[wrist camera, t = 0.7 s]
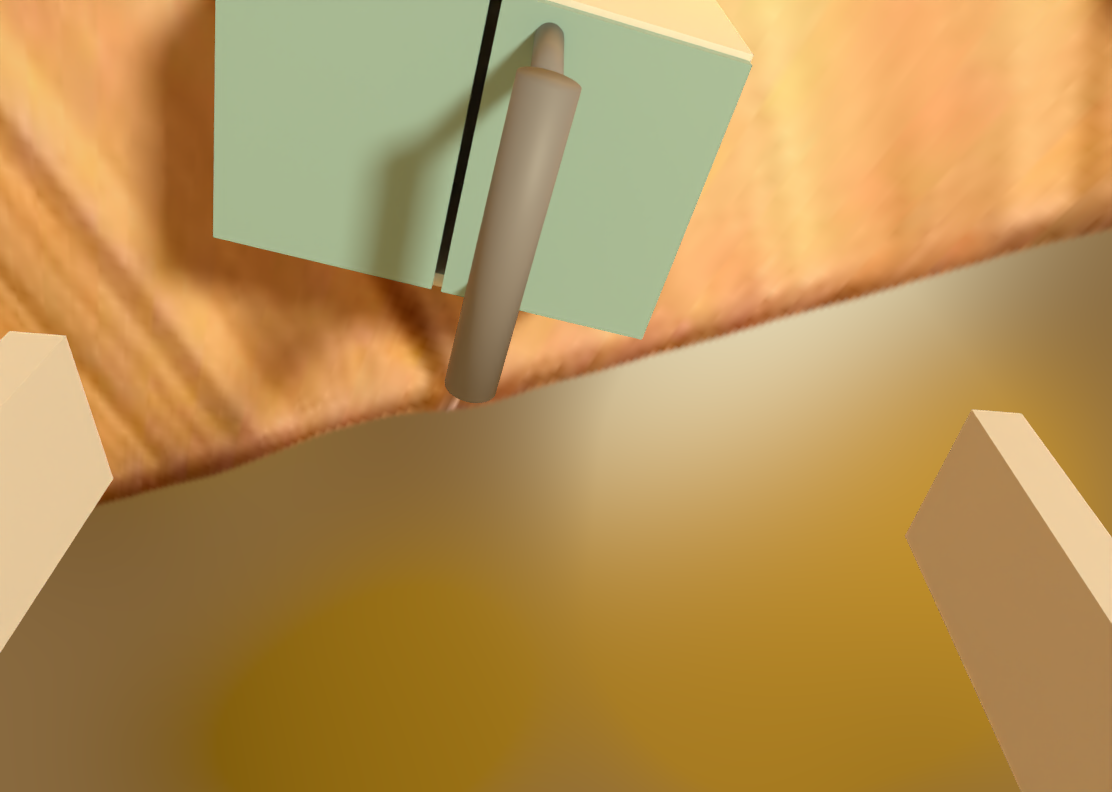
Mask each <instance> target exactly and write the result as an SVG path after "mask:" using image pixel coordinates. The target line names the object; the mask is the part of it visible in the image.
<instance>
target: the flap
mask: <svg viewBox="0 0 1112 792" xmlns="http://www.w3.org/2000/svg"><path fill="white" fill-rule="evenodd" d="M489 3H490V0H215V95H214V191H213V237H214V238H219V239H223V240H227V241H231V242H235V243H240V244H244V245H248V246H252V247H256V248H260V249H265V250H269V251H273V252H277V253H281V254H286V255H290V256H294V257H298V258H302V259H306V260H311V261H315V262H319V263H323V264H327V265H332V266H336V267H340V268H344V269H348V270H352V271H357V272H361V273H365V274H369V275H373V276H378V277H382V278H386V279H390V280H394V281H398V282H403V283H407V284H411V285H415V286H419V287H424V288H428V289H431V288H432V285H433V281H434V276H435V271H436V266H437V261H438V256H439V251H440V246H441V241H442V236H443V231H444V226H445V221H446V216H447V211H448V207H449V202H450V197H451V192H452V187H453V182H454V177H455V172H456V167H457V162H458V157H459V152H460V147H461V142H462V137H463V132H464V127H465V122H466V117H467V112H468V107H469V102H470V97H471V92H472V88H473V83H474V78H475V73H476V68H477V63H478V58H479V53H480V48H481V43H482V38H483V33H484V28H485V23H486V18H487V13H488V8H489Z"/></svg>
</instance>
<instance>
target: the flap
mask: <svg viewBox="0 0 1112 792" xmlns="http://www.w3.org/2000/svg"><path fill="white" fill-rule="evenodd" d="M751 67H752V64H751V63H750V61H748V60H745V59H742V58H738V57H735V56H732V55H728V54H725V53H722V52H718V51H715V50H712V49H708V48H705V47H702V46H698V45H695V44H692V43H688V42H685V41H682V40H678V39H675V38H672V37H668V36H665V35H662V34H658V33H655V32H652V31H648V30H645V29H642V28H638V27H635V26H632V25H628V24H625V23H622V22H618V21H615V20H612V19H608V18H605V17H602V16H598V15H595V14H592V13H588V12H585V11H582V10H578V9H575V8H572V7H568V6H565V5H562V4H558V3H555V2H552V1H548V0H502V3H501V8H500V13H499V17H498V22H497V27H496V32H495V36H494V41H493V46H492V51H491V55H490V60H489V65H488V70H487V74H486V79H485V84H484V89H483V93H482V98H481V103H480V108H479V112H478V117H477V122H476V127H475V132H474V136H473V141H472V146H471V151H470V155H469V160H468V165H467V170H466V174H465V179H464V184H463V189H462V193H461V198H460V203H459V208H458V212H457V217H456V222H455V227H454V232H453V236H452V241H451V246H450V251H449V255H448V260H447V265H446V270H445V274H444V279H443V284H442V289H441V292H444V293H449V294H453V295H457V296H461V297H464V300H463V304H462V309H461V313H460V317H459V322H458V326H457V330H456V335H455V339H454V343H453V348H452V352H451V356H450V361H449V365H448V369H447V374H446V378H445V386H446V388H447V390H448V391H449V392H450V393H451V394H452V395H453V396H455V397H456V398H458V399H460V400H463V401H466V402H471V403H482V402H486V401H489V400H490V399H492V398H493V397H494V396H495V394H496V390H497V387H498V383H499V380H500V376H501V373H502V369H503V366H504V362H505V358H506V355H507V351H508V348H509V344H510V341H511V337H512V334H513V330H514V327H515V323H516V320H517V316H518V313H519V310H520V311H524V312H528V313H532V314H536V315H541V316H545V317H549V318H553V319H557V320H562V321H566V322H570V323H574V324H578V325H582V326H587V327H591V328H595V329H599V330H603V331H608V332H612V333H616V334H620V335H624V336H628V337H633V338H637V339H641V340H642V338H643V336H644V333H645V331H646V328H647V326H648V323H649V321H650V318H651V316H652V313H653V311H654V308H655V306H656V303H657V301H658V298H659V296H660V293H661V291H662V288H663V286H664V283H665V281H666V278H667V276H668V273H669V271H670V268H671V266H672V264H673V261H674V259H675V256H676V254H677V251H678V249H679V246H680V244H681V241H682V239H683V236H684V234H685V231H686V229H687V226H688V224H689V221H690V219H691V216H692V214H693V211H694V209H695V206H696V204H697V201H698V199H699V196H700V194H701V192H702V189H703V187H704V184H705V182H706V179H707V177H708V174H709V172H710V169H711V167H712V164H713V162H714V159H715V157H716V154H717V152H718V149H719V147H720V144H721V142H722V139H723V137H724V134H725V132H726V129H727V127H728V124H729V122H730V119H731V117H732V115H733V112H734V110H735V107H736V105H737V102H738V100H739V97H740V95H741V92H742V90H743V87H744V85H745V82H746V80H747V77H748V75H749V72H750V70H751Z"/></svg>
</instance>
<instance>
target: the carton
mask: <svg viewBox="0 0 1112 792" xmlns="http://www.w3.org/2000/svg"><path fill="white" fill-rule="evenodd" d="M548 1H552V2H555V3H558V4H562V5H565V6H568V7H572V8H575V9H578V10H582V11H585V12H588V13H592V14H595V15H598V16H602V17H605V18H608V19H612V20H615V21H618V22H622V23H625V24H628V25H632V26H635V27H638V28H642V29H645V30H648V31H652V32H655V33H658V34H662V35H665V36H668V37H672V38H675V39H678V40H682V41H685V42H688V43H692V44H695V45H698V46H702V47H705V48H708V49H712V50H715V51H718V52H722V53H725V54H728V55H732V56H735V57H738V58H742V59H745V60H748V61H750V63H751V60H752V58H753V53H752V52H751V50H750V49H749V48H748V46H747V45H746V43H745V42H744V40H743V39H742V37H741V36H740V35H739V33H738V32H737V30H736V29H735V27H734V26H733V24H732V23H731V22H730V20H729V19H728V17H727V16H726V14H725V13H724V11H723V10H722V9H721V7H720V6H719V4H718V3H717V1H716V0H548ZM501 3H502V0H490V3H489V8H488V13H487V18H486V23H485V28H484V33H483V38H482V43H481V48H480V53H479V58H478V63H477V68H476V73H475V78H474V83H473V88H472V92H471V97H470V102H469V107H468V112H467V117H466V122H465V127H464V132H463V137H462V142H461V147H460V152H459V157H458V162H457V167H456V172H455V177H454V182H453V187H452V192H451V197H450V202H449V207H448V211H447V216H446V221H445V226H444V231H443V236H442V241H441V246H440V251H439V256H438V261H437V266H436V271H435V276H434V281H433V285H435V286H439V287H442V284H443V279H444V274H445V270H446V265H447V260H448V255H449V251H450V246H451V241H452V236H453V232H454V227H455V222H456V217H457V212H458V208H459V203H460V198H461V193H462V189H463V184H464V179H465V174H466V170H467V165H468V160H469V155H470V151H471V146H472V141H473V136H474V132H475V127H476V122H477V117H478V112H479V108H480V103H481V98H482V93H483V89H484V84H485V79H486V74H487V70H488V65H489V60H490V55H491V51H492V46H493V41H494V36H495V32H496V27H497V22H498V17H499V13H500V8H501Z"/></svg>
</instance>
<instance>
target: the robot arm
mask: <svg viewBox="0 0 1112 792" xmlns="http://www.w3.org/2000/svg"><path fill="white" fill-rule="evenodd" d="M112 480H113V476H112V473H111V470H110V467H109V464H108V461H107V458H106V455H105V452H104V449H103V446H102V443H101V440H100V437H99V434H98V431H97V428H96V425H95V422H94V419H93V416H92V413H91V410H90V407H89V404H88V401H87V398H86V395H85V392H84V389H83V386H82V383H81V380H80V377H79V374H78V371H77V368H76V365H75V362H74V359H73V356H72V353H71V350H70V347H69V344H68V341H67V338H66V336H63V335H51V334H39V333H27V332H14V331H9V332H8V333H7V334H6V335H5V336H4V337H3V338H2V339H1V340H0V652H1V650H2V649H3V647H4V646H5V644H6V643H7V641H8V640H9V638H10V636H11V635H12V633H13V632H14V630H15V629H16V627H17V626H18V624H19V623H20V621H21V620H22V618H23V617H24V615H25V613H26V612H27V610H28V609H29V607H30V606H31V604H32V603H33V601H34V600H35V598H36V597H37V595H38V593H39V592H40V590H41V589H42V587H43V586H44V584H45V583H46V581H47V580H48V578H49V577H50V575H51V573H52V572H53V570H54V569H55V567H56V566H57V564H58V563H59V561H60V560H61V558H62V556H63V555H64V554H65V552H66V550H67V549H68V547H69V546H70V544H71V543H72V541H73V540H74V538H75V537H76V535H77V534H78V532H79V530H80V529H81V527H82V526H83V524H84V523H85V521H86V520H87V518H88V517H89V515H90V514H91V512H92V511H93V509H94V507H95V506H96V504H97V503H98V501H99V500H100V498H101V497H102V495H103V494H104V492H105V491H106V489H107V487H108V486H109V484H110V483H111V481H112ZM905 537H906V539H907V541H908V544H909V546H910V548H911V550H912V552H913V555H914V557H915V559H916V561H917V563H918V566H919V568H920V570H921V572H922V574H923V576H924V579H925V581H926V583H927V585H928V588H929V590H930V592H931V594H932V596H933V599H934V601H935V603H936V605H937V607H938V610H939V612H940V614H941V616H942V618H943V621H944V623H945V625H946V627H947V629H948V632H949V634H950V636H951V638H952V640H953V642H954V645H955V647H956V649H957V651H958V654H959V656H960V658H961V660H962V663H963V665H964V667H965V669H966V671H967V674H968V676H969V678H970V680H971V682H972V685H973V687H974V689H975V691H976V693H977V696H978V698H979V700H980V702H981V704H982V707H983V708H984V711H985V713H986V715H987V718H988V720H989V722H990V724H991V726H992V729H993V731H994V733H995V735H996V737H997V740H998V742H999V744H1000V746H1001V748H1002V751H1003V753H1004V755H1005V757H1006V759H1007V762H1008V764H1009V766H1010V768H1011V770H1012V773H1013V775H1014V777H1015V779H1016V781H1017V783H1018V786H1019V788H1020V790H1021V792H1112V537H1111V536H1110V534H1109V533H1108V532H1107V530H1106V529H1105V528H1104V526H1103V525H1102V523H1101V522H1100V521H1099V519H1098V518H1097V517H1096V515H1095V514H1094V512H1093V511H1092V510H1091V508H1090V507H1089V506H1088V504H1087V503H1086V502H1085V500H1084V499H1083V497H1082V496H1081V495H1080V493H1079V492H1078V490H1077V489H1076V488H1075V486H1074V485H1073V484H1072V482H1071V481H1070V480H1069V478H1068V477H1067V476H1066V474H1065V473H1064V471H1063V470H1062V469H1061V467H1060V466H1059V464H1058V463H1057V462H1056V460H1055V459H1054V458H1053V456H1052V455H1051V453H1050V452H1049V451H1048V449H1047V448H1046V447H1045V445H1044V444H1043V443H1042V441H1041V440H1040V438H1039V437H1038V436H1037V434H1036V433H1035V431H1034V430H1033V429H1032V427H1031V426H1030V425H1029V423H1028V422H1027V420H1026V419H1025V418H1024V416H1023V415H1022V414H1021V413H1009V412H996V411H984V410H971V412H970V414H969V416H968V418H967V420H966V421H965V423H964V425H963V427H962V429H961V431H960V433H959V435H958V437H957V439H956V441H955V442H954V444H953V446H952V448H951V450H950V452H949V454H948V456H947V458H946V459H945V461H944V463H943V465H942V467H941V469H940V471H939V473H938V475H937V477H936V478H935V480H934V482H933V484H932V486H931V488H930V490H929V492H928V494H927V496H926V497H925V499H924V501H923V503H922V505H921V507H920V509H919V511H918V513H917V514H916V516H915V518H914V520H913V522H912V524H911V526H910V528H909V530H908V532H907V534H906V535H905Z"/></svg>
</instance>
